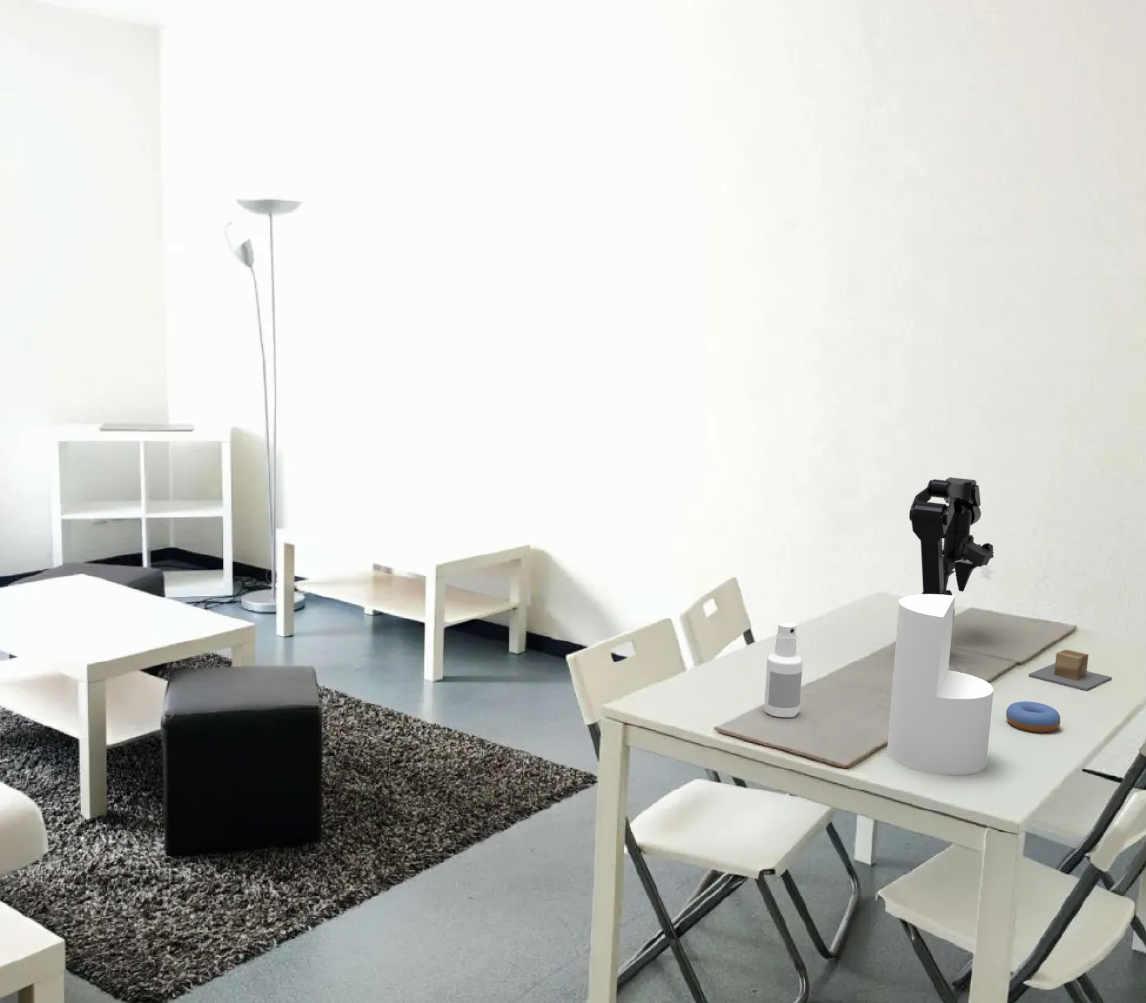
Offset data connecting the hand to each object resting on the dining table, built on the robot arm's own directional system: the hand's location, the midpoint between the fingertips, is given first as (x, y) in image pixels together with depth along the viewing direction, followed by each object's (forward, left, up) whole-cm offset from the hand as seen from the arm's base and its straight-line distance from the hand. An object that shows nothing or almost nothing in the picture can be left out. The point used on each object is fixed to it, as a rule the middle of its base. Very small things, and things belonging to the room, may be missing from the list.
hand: (951, 594), depth 291 cm
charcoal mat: (-4, -32, -12) cm, 34 cm away
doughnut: (-41, -41, -12) cm, 59 cm away
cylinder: (-71, -37, -12) cm, 81 cm away
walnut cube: (-4, -32, -12) cm, 34 cm away
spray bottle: (-74, -5, -12) cm, 75 cm away
